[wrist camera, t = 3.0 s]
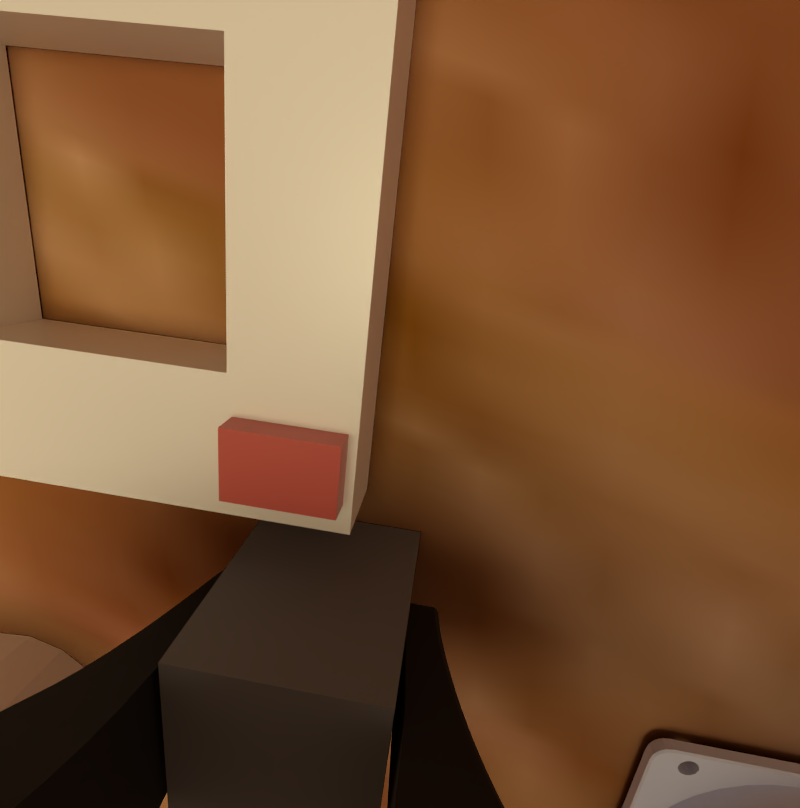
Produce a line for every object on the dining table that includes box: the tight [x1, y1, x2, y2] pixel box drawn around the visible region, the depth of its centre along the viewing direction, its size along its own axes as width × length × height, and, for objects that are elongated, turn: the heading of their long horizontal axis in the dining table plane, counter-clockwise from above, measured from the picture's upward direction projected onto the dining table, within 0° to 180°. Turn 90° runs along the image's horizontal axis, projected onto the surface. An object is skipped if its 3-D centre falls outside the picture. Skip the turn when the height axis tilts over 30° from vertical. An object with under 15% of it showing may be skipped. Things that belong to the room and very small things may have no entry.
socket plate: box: [0, 0, 416, 535], centre depth 10 cm, size 11×12×3 cm
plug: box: [158, 520, 421, 808], centre depth 11 cm, size 4×4×5 cm
